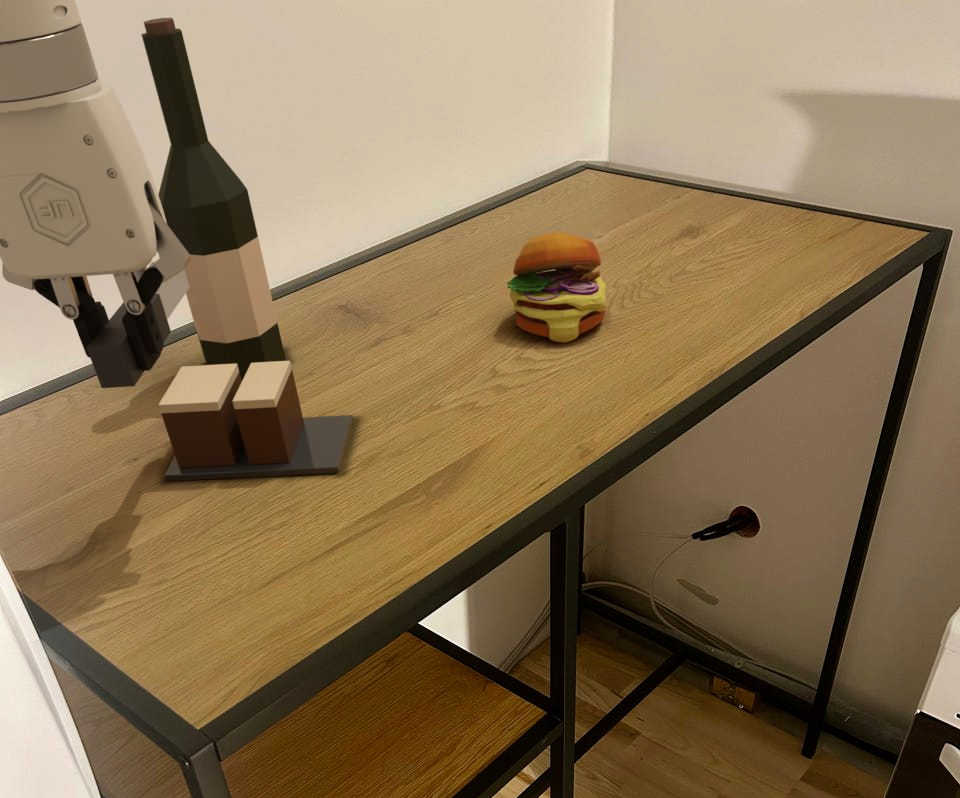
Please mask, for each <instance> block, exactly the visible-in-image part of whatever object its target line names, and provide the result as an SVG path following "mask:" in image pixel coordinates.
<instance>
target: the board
mask: <svg viewBox="0 0 960 798" xmlns="http://www.w3.org/2000/svg"><path fill="white" fill-rule="evenodd" d="M303 420H304V424H303V426H302V429H301V432H300V435H299V438H298V440H297V443H296V446H295V449H294V451H293V454H292V457H291V460H290V463H277V464H256V465H250V464H249V461H248V457H247V453H246V450H245V446H244V447H243V449H242V451H241V454H240V456H239V458H238V461H237V463H236V465H233V466H212V467H191V468H179V466H178V463H177V460H176V457H175V456H174V457H173V458H172V461H171V463H170V465H169V466H168V468H167V469H166V472H165V474H164V478H165V481H166V482H175V481H176V482H177V481H178V482H179V481H197V480H218V479H219V480H220V479H239V478H262V477H280V476H281V477H283V476H304V475H306V476H307V475H325V474H328V475H329V474H339V473H340V470H341V467H342V462H343V460H344V455H345V452H346V449H347V445H348V442H349V438H350V435H351V431H352V428H353V424H354V420H355V419H354V416H353V414H345V415H344V414H343V415H327V416H324V415H323V416H307V417H305V416H303Z"/></svg>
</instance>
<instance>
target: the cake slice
mask: <svg viewBox="0 0 960 798" xmlns="http://www.w3.org/2000/svg"><path fill="white" fill-rule="evenodd" d="M232 402H233V405H234V409H235V413H236V417H237V420H238V424H239V428H240V431H241V435H242V439H243V442H244V446H245V450H246V453H247V457H248V461H249V464H250V465H256V464H277V463H290V460H291V457H292V454H293V451H294V449H295V446H296V443H297V440H298V438H299V435H300V432H301V429H302V426H303V424H304V420H303V418H304V416H303V412H302V407H301V402H300V398H299V393H298V388H297V385H296V379H295V375H294V371H293V367H292V362H291V360H286V361H275V362H257V363H251V364H250V366H249V368H248V370H247V372H246V374H245V376H244V378H243V380H242V382H241V385H240V387H239V389H238V391H237V393H236V395H235V397H234V399H233V401H232Z"/></svg>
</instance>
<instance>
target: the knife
mask: <svg viewBox="0 0 960 798" xmlns="http://www.w3.org/2000/svg"><path fill="white" fill-rule="evenodd" d="M189 288H190V287H189V283H188V280H187V276H186V273H185V269H184V270H182V271H181V272H179V273H178V274H176V275H175V276H173V277H172V278H170V279H169V280H167V281H165V282H163V283H162V284H161V286H160V287H159V289H158V291H157V292H156V294H155V296H154V297H153V299H152V300H151V304H152V307H153V310H154V313H155V317H156V320H157V323H158V326H159V329H160V332H161V335H162V338H163V344H164V343H165V342H166V341H167V339H168V337H169V336H170V334H171V333H172V330H171V327H170V323H169V321H168V319H169V318H170V316H171V315H172V314H173V312H174V311H175V309H176V308H177V307H178V305H179V304H180V303H181V301H182V299H183V298H184V296H185V295H186V292H187V291H188V289H189ZM125 314H126V309H125V306H124V302H122V303H121V305H120V306H119V307H118V308H117V310H115V312H114V313H113V315H112V316H111V317H110V318H109V321H108V322H107V324H106V325H105V326H104V327H103V329H102V330H101V331H100V332H99V334H98V335H97V336H96V337H95V338H94V339H93V341H92V342H91V343H90V344H89V346H88V347H87V350H88V353H89V356H90V358H89V359H90V361H91V364H92V366H93V369H94V371H95V375H96V377H97V380H98V382H99V384H100V387H101V389H113V388H127V387H128V388H129V387H135V386H136V385H137V384H138V382H139V380H140V379H141V377H142V376H143V374H144V373H145V371H142V370H141V369H139V368H138V365H137V362H136V359H135V356H134V353H133V350H132V347H131V345H130V342H129V339H128V337H127V334H126V331H125V328H124V325H123V322H122V318H123V316H124V315H125Z"/></svg>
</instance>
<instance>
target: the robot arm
mask: <svg viewBox="0 0 960 798" xmlns="http://www.w3.org/2000/svg"><path fill="white" fill-rule="evenodd" d="M80 15H81V14H80V12H79V9H78V6H77V3H76V0H0V260H1V263H2V269H1V271H2V272H1V273H2V277H3V278H4V280H5V281H6V282H8V283H10V284H12V285H16V286H18V287H22V288H25V289H27V290H30V291H36V292H37V293H38V294H39V295H40V296H41V297H43V298H45V299H46V300H47V301H48V302H51V303H52V304H53V305H54V306H56V307H58V308H59V309H60V312H61V314H62V315H63V316H64V317H65V318H66V319H68V320H72V321H73V324H74V327H75V329H76V332H77V334H78V337H79V340H80V343H81V346H82V347H83V351H84V353H85V355H86V356H87V358H89V359H91V358H90V356H89V353H88V350H87V347H88V346H89V344H90V343H91V342H92V341H93V339H94V338H95V337H96V336H97V335H98V334H99V332H100V331H101V330H102V329H103V327H104V326H105V325H106V324H107V322H108V321H109V320H110V318H109V315H108V313H107V310H106V308H105V305H104V304H102V301H96V300H95V298H94V297H93V292H92V290H91V286H90V283H89V280H88V277H91V276H103V275H104V276H105V275H112V276H113V278H114V280H115V283H116V286H117V288H118V291H119V293H120V297H121V299H122V301H123V302H124V306H125V309H126V314H125V315H124V316H123V318H122V322H123V325H124V328H125V331H126V334H127V337H128V339H129V342H130V345H131V347H132V350H133V353H134V356H135V359H136V362H137V365H138V368H139V369H141V370H142V371H144V372H148V371H151V370H152V369H153V367H154V366H155V364H156V363H157V361H158V359H159V358H160V357H161V355H162V351H163V350H164V343H163V338H162V335H161V332H160V329H159V326H158V323H157V320H156V317H155V313H154V310H153V307H152V304H151V300H152V299H153V297H154V296H155V294H156V292H157V291H158V289H159V287H160V286H161V284H162V283H163V282H165V281H167V280H169V279H170V278H172V277H173V276H175V275H176V274H178V273H179V272H181V271H182V270H184V269H185V267H186V266H187V265H188V263H189V262H190V259H191V258H190V255H189V253H188V251H187V250H186V249H185V247H184V246H183V245H182V244H181V242H180V241H179V240H178V238H177V237H176V236H175V234H174V233H173V232H172V230H171V229H170V228H169V226H168V225H167V222H166V218H165V215H164V211H163V208H162V205H161V202H160V198H159V196H158V194H159V192H158V190H157V187H156V184H155V181H154V179H153V175H152V173H151V170H150V168H149V165H148V162H147V159H146V158H145V155H144V152H143V150H142V147H141V145H140V142H139V140H138V138H137V135H136V133H135V131H134V129H133V126H132V124H131V122H130V120H129V118H128V116H127V114H126V112H125V110H124V108H123V105H122V104H121V101H120V100H119V98H118V96H117V94H116V92H115V91H114V89H113V86H112V85H111V84H110V83H101V79H100V76H99V74H98V71H97V67H96V64H95V61H94V57H93V54H92V51H91V48H90V45H89V42H88V38H87V35H86V31H85V29H84V26H83V23H82V19H81V16H80ZM157 254H158V256H159V258H158V259H157V260H155V261H153V258H155V257H156V255H157ZM152 261H153V262H152ZM147 266H148V267H147ZM123 302H122V303H123Z"/></svg>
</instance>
